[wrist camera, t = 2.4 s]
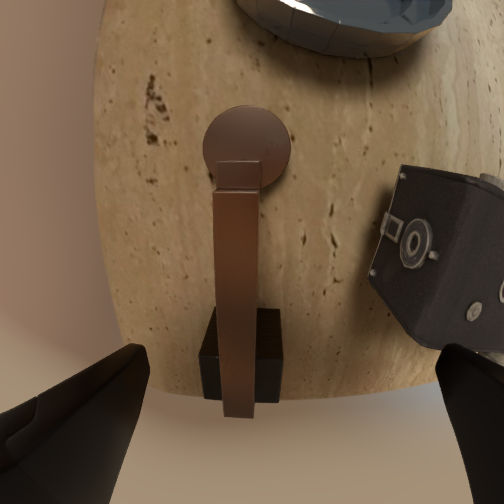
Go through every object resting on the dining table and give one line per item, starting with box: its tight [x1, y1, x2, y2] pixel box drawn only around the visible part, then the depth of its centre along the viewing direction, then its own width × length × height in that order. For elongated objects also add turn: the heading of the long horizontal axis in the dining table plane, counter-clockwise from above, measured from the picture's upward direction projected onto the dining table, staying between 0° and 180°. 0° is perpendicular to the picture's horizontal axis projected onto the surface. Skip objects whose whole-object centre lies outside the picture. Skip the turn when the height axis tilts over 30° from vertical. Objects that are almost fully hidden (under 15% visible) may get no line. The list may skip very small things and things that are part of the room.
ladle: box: [203, 105, 291, 418], centre depth 16 cm, size 18×5×8 cm, turn 179°
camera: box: [367, 164, 504, 366], centre depth 14 cm, size 11×11×15 cm
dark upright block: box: [198, 306, 284, 403], centre depth 19 cm, size 4×5×6 cm
